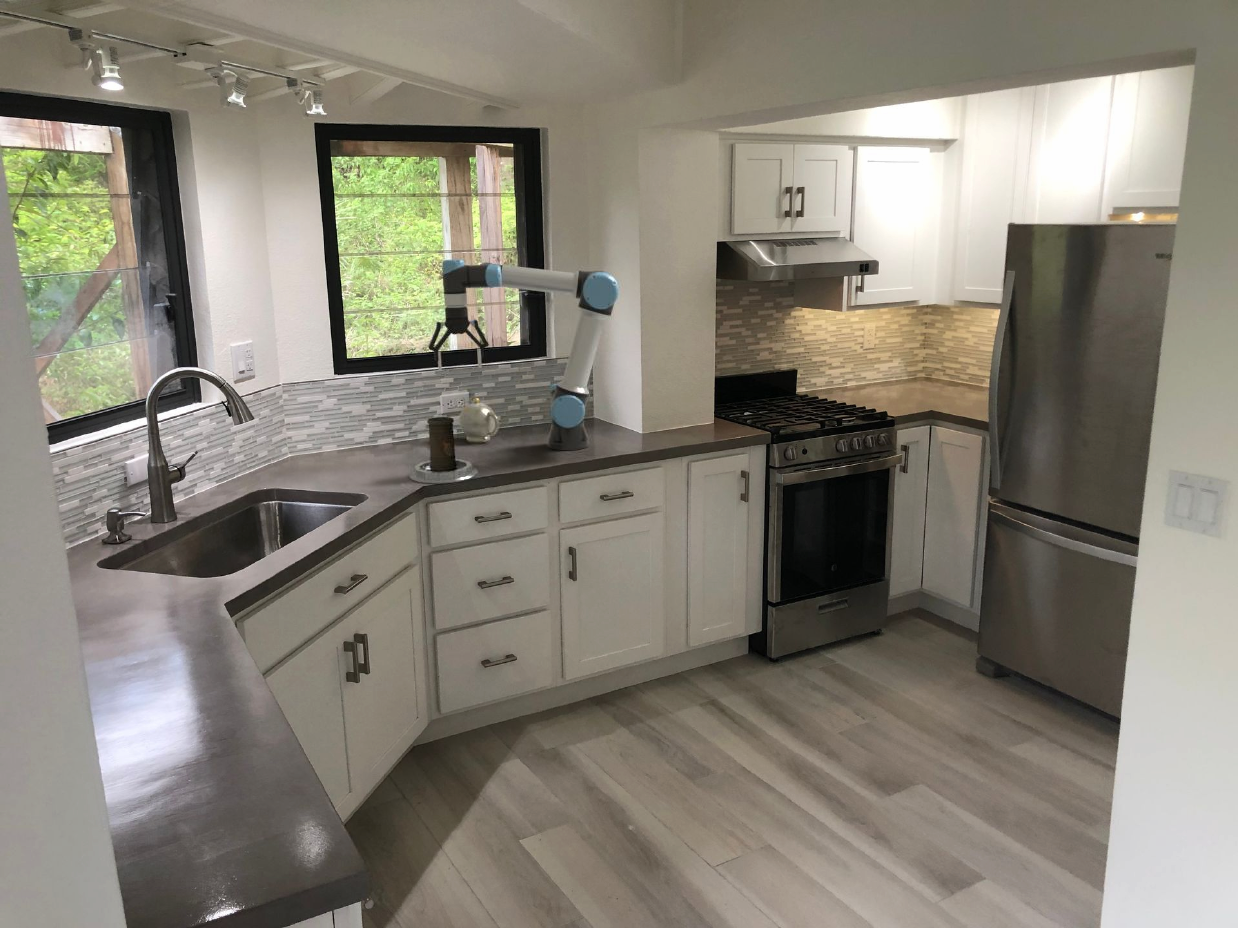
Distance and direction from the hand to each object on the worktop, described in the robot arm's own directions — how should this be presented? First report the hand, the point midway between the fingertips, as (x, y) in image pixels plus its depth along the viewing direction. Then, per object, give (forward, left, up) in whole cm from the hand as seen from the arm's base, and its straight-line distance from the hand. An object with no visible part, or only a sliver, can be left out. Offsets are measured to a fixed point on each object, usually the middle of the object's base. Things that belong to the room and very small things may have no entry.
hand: (460, 369), depth 332 cm
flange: (+10, +22, -31) cm, 39 cm away
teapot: (-9, -24, -31) cm, 41 cm away
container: (+10, +22, -31) cm, 39 cm away
